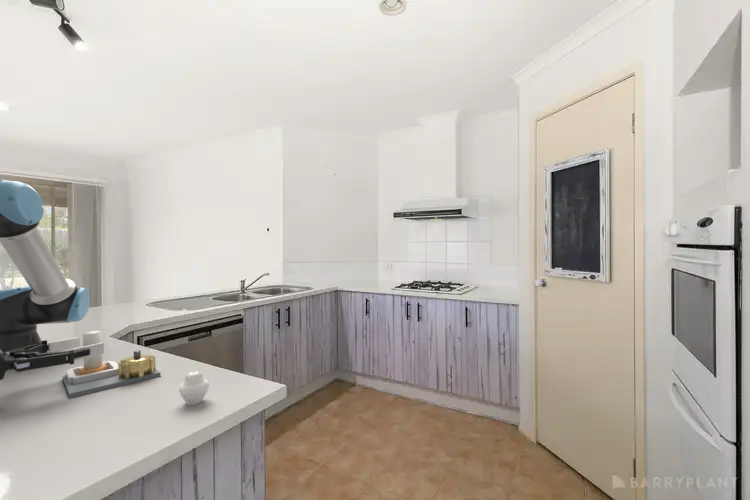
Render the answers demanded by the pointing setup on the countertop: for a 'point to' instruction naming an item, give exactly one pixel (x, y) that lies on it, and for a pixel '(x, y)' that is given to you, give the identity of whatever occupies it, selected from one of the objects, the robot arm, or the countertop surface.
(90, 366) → the white cylinder orange base
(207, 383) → the muffin
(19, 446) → the countertop surface
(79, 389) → the carrier plate
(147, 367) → the sun gear
